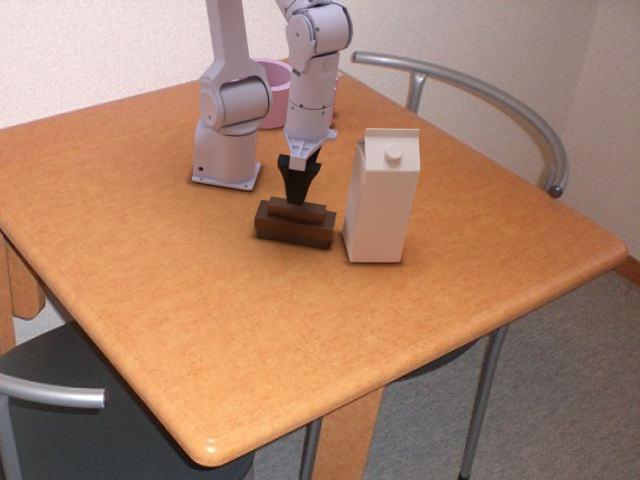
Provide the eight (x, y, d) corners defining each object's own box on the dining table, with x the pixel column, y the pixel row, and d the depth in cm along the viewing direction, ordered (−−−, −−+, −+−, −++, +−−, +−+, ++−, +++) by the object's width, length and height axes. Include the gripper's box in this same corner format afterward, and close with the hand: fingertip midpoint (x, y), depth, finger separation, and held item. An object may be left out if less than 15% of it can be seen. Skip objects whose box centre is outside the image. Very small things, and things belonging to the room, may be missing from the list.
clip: (334, 103, 158) (340, 67, 154) (329, 137, 149) (334, 100, 144) (225, 89, 160) (226, 53, 155) (212, 122, 150) (214, 84, 146)
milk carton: (341, 233, 128) (360, 115, 116) (389, 233, 129) (413, 115, 116) (349, 263, 122) (371, 142, 110) (399, 263, 123) (426, 143, 111)
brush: (253, 237, 126) (255, 207, 122) (259, 219, 129) (261, 190, 126) (329, 250, 124) (334, 220, 121) (333, 232, 128) (338, 202, 125)
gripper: (334, 130, 107) (320, 222, 116) (348, 79, 118) (334, 166, 127) (277, 121, 108) (268, 213, 117) (296, 71, 119) (286, 158, 128)
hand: (299, 188), depth 122 cm, fingers open, 7 cm apart
